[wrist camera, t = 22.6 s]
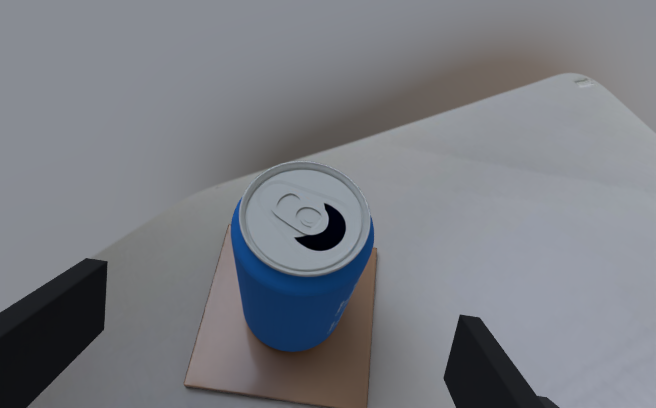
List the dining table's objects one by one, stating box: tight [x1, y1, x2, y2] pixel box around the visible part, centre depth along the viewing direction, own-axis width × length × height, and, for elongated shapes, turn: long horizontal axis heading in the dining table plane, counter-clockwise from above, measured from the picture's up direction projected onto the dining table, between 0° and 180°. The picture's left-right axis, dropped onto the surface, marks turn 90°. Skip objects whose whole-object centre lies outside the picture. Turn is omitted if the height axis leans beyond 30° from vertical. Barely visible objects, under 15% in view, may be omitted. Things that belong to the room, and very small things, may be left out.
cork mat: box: [184, 224, 377, 408], centre depth 28 cm, size 11×11×1 cm
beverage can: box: [231, 161, 374, 352], centre depth 23 cm, size 6×6×12 cm
